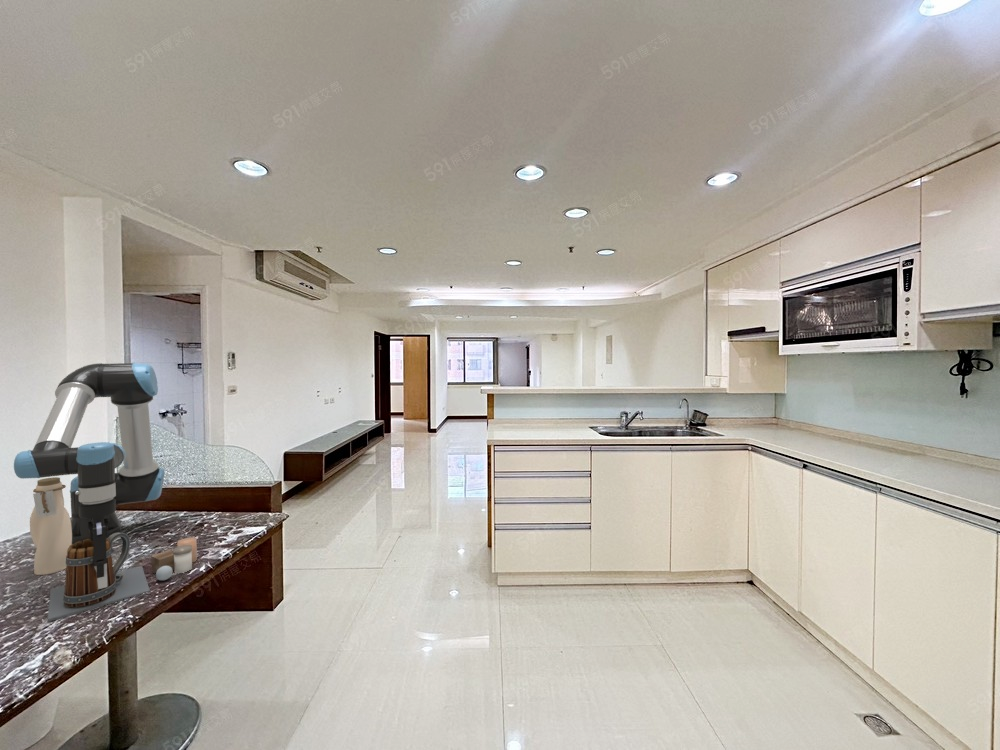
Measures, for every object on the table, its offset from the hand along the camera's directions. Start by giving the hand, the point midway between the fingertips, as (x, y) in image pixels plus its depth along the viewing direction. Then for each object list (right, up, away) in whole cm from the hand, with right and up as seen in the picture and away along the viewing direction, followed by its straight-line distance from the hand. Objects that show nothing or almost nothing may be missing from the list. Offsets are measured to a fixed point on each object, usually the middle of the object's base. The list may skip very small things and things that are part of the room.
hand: (99, 581), depth 122 cm
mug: (-1, -4, +1) cm, 4 cm away
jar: (+12, -4, +15) cm, 20 cm away
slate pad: (-2, -4, +3) cm, 5 cm away
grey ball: (+11, -2, +9) cm, 14 cm away
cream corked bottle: (-28, -4, +15) cm, 32 cm away
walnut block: (+6, -4, +15) cm, 17 cm away
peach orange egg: (+9, -3, +21) cm, 23 cm away
